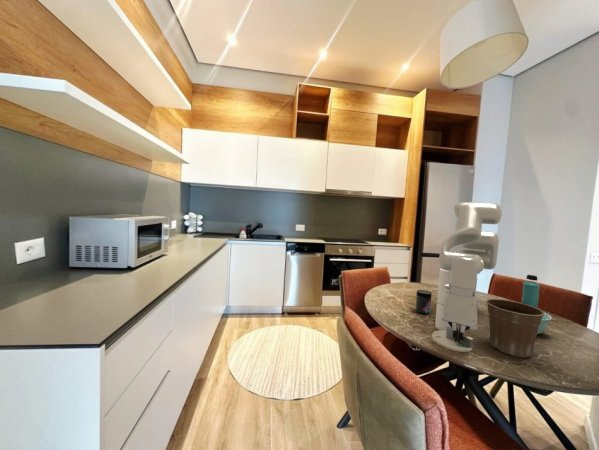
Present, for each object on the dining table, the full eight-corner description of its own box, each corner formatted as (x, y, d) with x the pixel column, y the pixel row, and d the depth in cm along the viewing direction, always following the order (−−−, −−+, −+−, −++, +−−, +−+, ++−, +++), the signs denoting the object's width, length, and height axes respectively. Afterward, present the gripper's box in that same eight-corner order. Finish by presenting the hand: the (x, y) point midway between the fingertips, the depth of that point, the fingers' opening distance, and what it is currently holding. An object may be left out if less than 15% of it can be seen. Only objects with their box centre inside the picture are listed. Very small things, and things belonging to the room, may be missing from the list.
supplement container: (420, 315, 120) (422, 294, 119) (412, 309, 127) (413, 289, 126) (433, 315, 121) (435, 294, 120) (424, 309, 128) (425, 289, 127)
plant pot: (477, 334, 103) (481, 295, 102) (527, 343, 97) (531, 303, 96) (490, 354, 88) (494, 309, 87) (549, 367, 82) (555, 319, 81)
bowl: (539, 342, 99) (541, 321, 99) (494, 325, 113) (495, 307, 112) (556, 334, 106) (558, 315, 106) (511, 319, 120) (513, 302, 120)
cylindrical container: (451, 326, 110) (456, 269, 108) (456, 333, 103) (461, 273, 101) (433, 323, 112) (438, 267, 111) (436, 329, 105) (441, 271, 104)
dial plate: (427, 340, 96) (427, 336, 95) (439, 330, 104) (439, 327, 104) (466, 356, 86) (467, 351, 86) (476, 344, 95) (476, 339, 95)
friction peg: (443, 335, 96) (444, 326, 96) (451, 334, 98) (452, 326, 97) (466, 349, 87) (467, 339, 87) (474, 347, 89) (475, 338, 88)
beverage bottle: (540, 317, 125) (544, 277, 124) (525, 315, 127) (529, 276, 126) (531, 311, 132) (535, 274, 131) (516, 310, 133) (520, 273, 132)
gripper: (437, 288, 90) (432, 338, 91) (488, 298, 82) (483, 353, 83) (438, 284, 96) (434, 330, 97) (487, 292, 88) (482, 343, 89)
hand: (457, 340), depth 90 cm, fingers closed
